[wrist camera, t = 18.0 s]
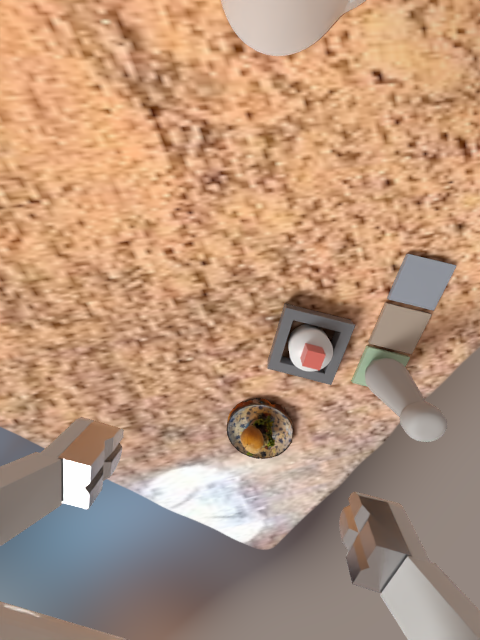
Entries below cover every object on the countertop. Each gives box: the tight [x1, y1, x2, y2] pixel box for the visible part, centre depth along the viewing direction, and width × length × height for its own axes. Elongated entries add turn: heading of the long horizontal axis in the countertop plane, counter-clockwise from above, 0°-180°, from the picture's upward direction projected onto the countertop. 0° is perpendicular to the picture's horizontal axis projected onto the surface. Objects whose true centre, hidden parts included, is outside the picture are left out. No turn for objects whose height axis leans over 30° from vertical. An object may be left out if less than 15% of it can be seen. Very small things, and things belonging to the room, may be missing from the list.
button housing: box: [268, 304, 355, 385], centre depth 39 cm, size 10×10×2 cm
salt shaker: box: [365, 358, 447, 442], centre depth 33 cm, size 6×6×13 cm
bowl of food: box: [227, 398, 293, 459], centre depth 43 cm, size 12×12×8 cm
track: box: [351, 254, 456, 387], centre depth 38 cm, size 20×6×1 cm, turn 167°
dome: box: [288, 324, 333, 372], centre depth 37 cm, size 6×6×6 cm
